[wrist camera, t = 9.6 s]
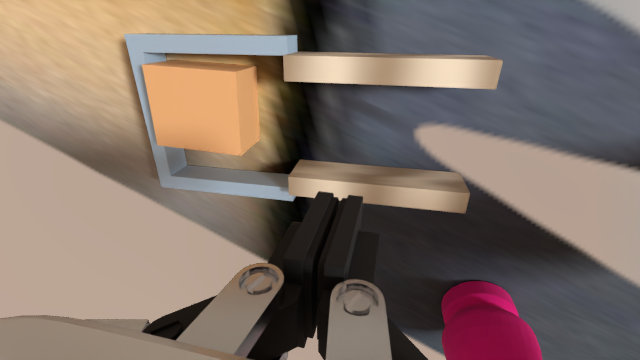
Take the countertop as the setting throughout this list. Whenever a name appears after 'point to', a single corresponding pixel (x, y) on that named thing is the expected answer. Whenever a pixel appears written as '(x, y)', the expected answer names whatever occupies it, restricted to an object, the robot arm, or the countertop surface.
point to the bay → (172, 158)
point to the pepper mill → (485, 325)
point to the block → (203, 105)
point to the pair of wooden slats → (377, 180)
